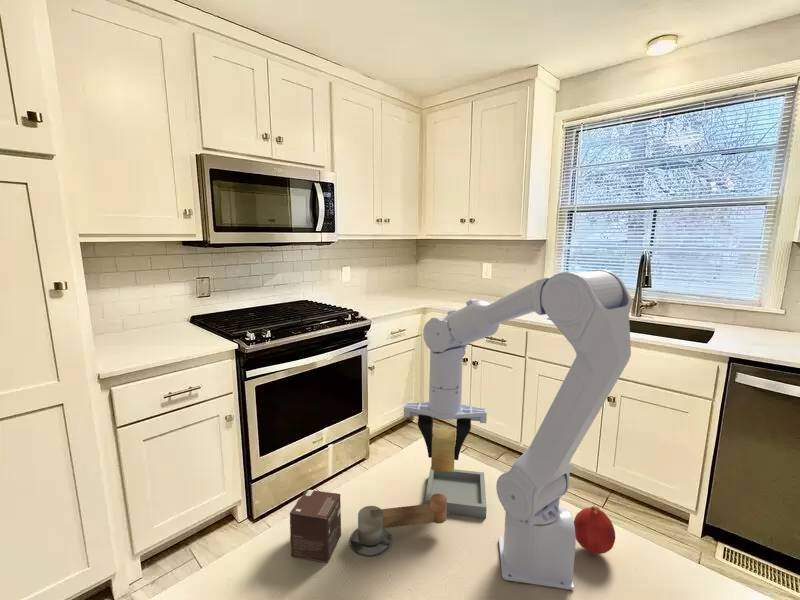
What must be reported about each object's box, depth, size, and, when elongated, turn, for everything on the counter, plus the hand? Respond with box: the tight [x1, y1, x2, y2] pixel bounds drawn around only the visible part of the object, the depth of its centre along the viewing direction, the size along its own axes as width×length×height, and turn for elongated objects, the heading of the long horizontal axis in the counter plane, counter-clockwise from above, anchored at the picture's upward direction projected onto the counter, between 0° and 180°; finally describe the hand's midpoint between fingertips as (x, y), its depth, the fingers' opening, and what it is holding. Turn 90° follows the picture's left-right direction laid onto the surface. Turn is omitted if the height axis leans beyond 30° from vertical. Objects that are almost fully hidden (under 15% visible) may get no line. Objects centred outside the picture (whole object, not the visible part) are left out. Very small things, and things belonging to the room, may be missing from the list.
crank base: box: [349, 527, 392, 558], centre depth 62 cm, size 6×6×1 cm
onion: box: [573, 505, 616, 556], centre depth 60 cm, size 6×6×8 cm
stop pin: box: [430, 427, 456, 472], centre depth 71 cm, size 4×4×6 cm
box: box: [289, 489, 342, 563], centre depth 61 cm, size 6×6×7 cm
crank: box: [357, 494, 447, 546], centre depth 63 cm, size 14×4×5 cm, turn 100°
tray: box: [424, 466, 488, 519], centre depth 74 cm, size 11×11×2 cm
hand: (443, 455), depth 71 cm, fingers closed on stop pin, 4 cm apart
